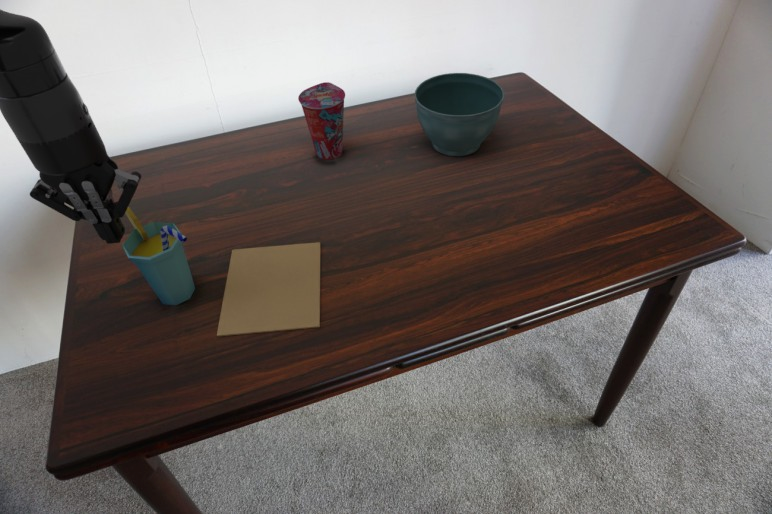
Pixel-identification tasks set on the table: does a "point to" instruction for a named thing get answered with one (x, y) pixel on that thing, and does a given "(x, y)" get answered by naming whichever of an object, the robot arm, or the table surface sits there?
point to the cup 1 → (160, 259)
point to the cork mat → (272, 290)
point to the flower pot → (458, 111)
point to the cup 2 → (324, 118)
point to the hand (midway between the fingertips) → (116, 238)
